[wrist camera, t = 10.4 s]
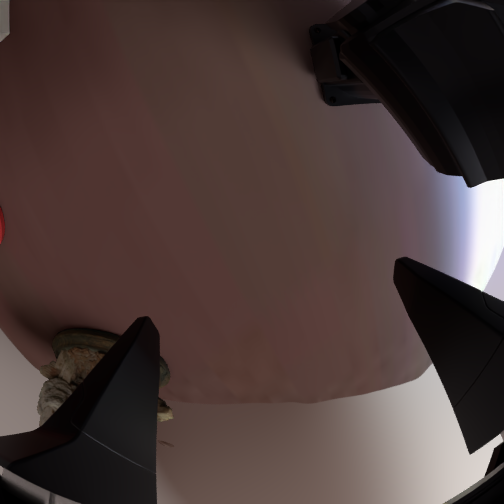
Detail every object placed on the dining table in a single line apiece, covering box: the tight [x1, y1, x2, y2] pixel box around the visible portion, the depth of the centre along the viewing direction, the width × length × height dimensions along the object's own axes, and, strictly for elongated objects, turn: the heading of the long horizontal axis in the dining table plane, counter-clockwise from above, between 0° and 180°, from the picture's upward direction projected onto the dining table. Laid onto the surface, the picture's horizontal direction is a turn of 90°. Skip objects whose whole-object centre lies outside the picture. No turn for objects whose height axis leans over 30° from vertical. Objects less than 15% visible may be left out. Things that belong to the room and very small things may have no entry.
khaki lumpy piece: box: [37, 329, 174, 426], centre depth 23 cm, size 18×12×17 cm, turn 84°
